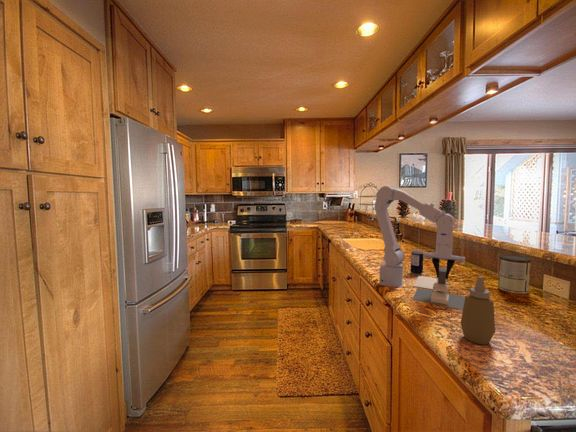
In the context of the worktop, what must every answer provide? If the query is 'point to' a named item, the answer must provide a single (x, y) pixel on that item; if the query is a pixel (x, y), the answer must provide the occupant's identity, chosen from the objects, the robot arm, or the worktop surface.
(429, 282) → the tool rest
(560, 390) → the worktop surface
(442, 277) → the grey bar
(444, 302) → the tile
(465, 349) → the worktop surface
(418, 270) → the beverage can
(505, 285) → the coffee can
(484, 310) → the squeeze bottle
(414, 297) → the mat
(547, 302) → the worktop surface
